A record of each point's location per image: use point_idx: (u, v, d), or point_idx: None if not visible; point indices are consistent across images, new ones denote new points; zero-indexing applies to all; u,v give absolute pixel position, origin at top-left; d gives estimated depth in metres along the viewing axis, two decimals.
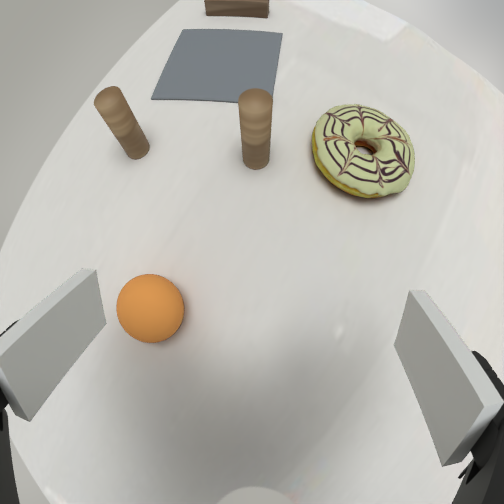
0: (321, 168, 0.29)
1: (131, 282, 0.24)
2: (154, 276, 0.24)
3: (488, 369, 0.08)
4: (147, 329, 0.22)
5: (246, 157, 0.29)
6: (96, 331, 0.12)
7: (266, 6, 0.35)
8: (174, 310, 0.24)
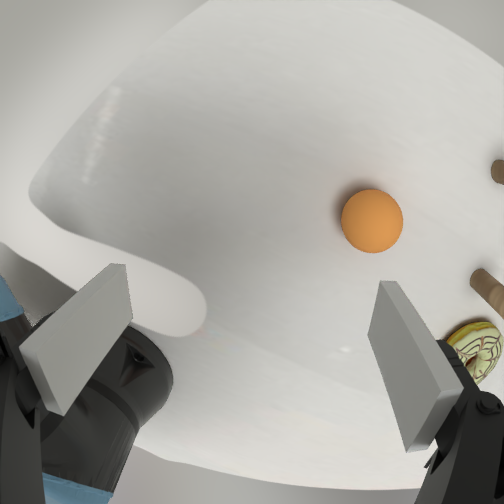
0: (463, 333, 0.31)
1: (398, 213, 0.25)
2: (401, 229, 0.26)
3: (455, 357, 0.08)
4: (360, 236, 0.25)
5: (480, 279, 0.29)
6: (124, 325, 0.13)
7: None
8: (374, 252, 0.26)
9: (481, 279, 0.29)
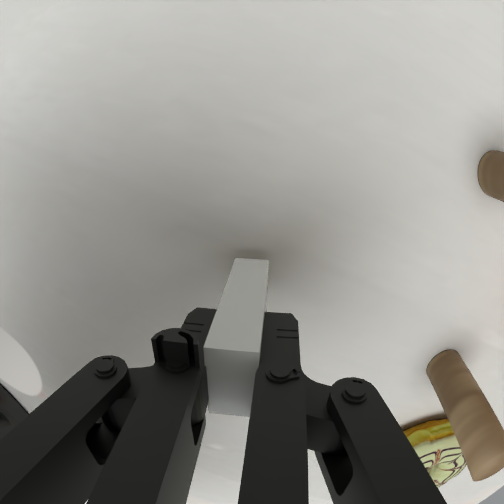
0: None
1: None
2: None
3: (293, 330, 0.10)
4: None
5: (443, 374, 0.16)
6: None
7: None
8: None
9: (444, 375, 0.16)
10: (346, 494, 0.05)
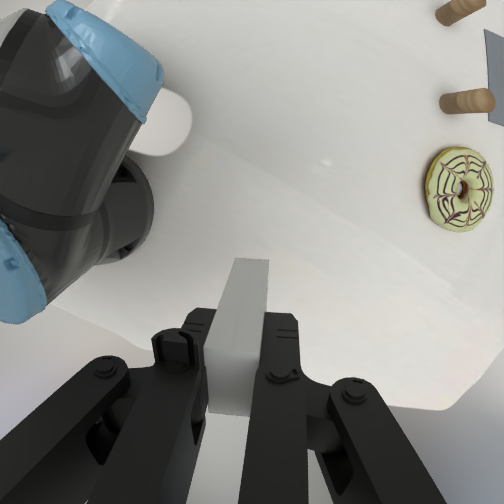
0: (444, 151, 0.32)
1: None
2: None
3: (293, 330, 0.10)
4: None
5: (447, 95, 0.29)
6: None
7: None
8: None
9: (447, 95, 0.29)
10: (346, 494, 0.05)
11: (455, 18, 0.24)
